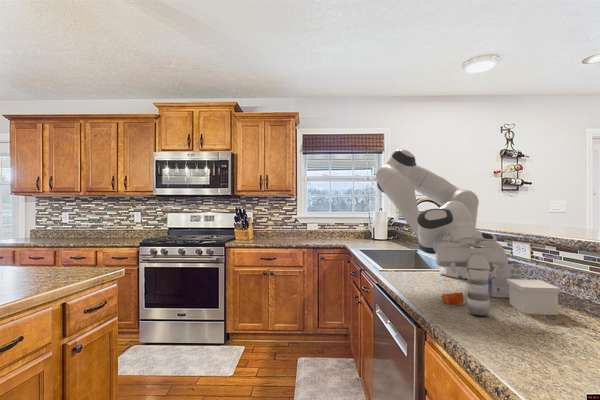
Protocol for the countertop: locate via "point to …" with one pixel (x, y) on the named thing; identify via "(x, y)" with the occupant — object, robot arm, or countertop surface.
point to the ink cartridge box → (504, 279)
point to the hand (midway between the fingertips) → (476, 278)
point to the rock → (453, 298)
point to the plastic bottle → (478, 282)
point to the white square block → (533, 296)
